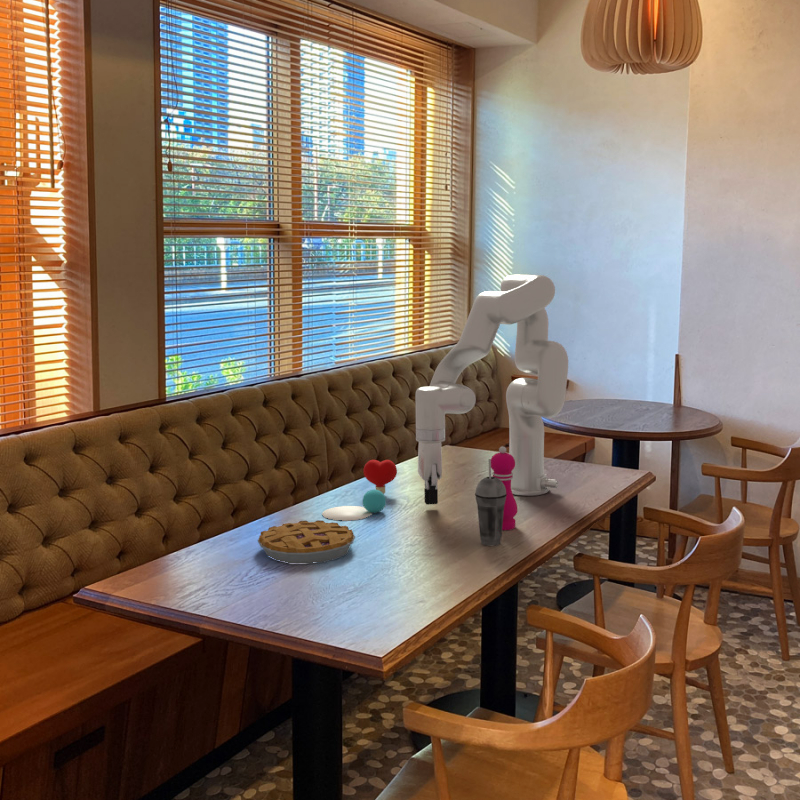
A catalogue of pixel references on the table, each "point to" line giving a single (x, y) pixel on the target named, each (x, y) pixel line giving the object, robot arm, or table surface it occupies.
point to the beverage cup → (490, 508)
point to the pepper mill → (505, 484)
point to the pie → (306, 541)
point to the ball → (374, 501)
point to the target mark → (346, 513)
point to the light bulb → (380, 473)
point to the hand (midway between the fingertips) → (431, 503)
